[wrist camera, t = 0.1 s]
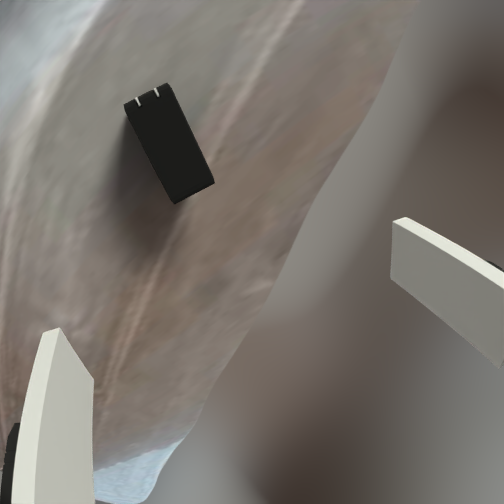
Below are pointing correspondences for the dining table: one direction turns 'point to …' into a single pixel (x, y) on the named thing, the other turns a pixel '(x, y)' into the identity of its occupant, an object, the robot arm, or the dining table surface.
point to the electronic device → (169, 143)
